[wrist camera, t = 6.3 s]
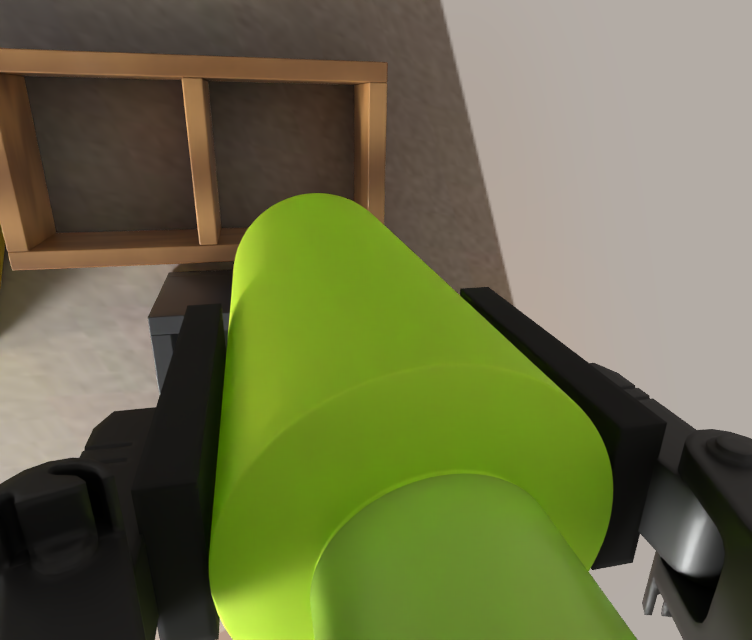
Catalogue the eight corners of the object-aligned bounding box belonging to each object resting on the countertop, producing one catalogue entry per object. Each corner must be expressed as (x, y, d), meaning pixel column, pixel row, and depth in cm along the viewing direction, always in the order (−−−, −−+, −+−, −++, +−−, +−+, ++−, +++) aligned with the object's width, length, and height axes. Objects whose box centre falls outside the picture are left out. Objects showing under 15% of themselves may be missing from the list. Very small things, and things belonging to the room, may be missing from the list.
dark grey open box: (168, 272, 34) (147, 317, 27) (382, 263, 37) (414, 301, 30) (195, 477, 40) (184, 560, 33) (378, 455, 43) (404, 526, 36)
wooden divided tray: (-1, 54, 28) (-44, 46, 24) (370, 67, 32) (387, 61, 28) (41, 249, 32) (11, 270, 28) (368, 238, 36) (383, 255, 32)
